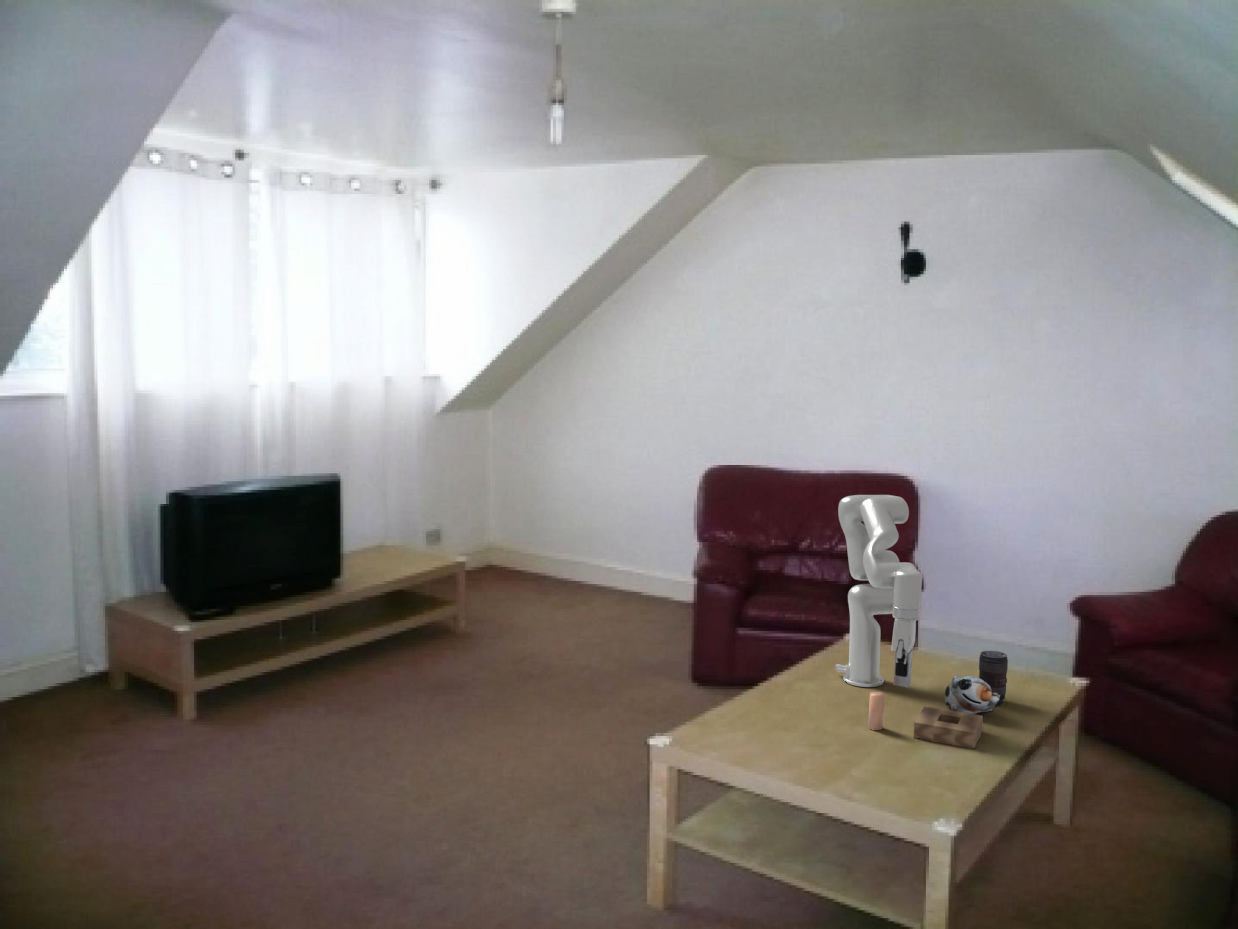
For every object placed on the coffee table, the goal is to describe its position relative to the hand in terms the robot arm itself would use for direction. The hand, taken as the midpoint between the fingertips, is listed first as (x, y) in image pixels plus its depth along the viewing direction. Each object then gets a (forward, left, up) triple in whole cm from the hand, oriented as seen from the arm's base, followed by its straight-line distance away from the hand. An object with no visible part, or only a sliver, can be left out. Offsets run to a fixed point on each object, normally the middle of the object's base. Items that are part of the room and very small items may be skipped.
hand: (902, 672), depth 297 cm
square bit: (0, 0, -3) cm, 3 cm away
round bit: (-5, -12, -13) cm, 18 cm away
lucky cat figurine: (+18, +15, -14) cm, 27 cm away
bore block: (+14, -7, -13) cm, 21 cm away
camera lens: (+21, +26, -14) cm, 37 cm away
